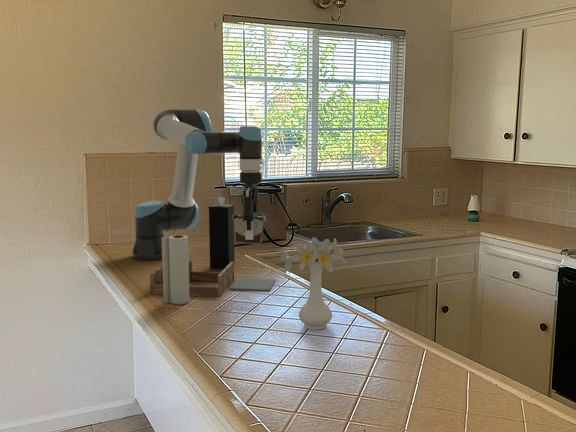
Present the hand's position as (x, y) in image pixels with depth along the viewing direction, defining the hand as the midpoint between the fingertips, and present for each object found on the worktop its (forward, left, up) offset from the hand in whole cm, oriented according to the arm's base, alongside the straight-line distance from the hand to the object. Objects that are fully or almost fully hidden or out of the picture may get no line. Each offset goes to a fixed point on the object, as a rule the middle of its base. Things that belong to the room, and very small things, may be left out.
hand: (251, 237), depth 212 cm
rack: (+5, -20, -17) cm, 27 cm away
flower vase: (+42, +25, -17) cm, 52 cm away
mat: (0, 0, -17) cm, 17 cm away
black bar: (-25, -17, -17) cm, 35 cm away
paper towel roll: (+23, -20, -17) cm, 35 cm away
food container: (0, 0, -2) cm, 2 cm away
